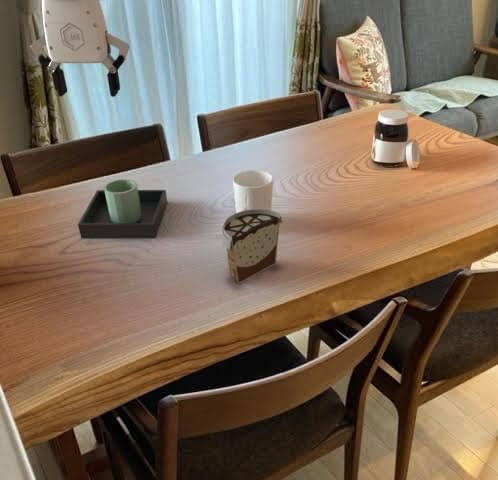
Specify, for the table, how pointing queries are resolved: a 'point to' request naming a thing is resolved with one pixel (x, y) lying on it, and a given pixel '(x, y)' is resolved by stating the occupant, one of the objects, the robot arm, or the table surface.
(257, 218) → the food container
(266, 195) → the white cup
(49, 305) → the table surface
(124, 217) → the green cup
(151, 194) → the serving tray
